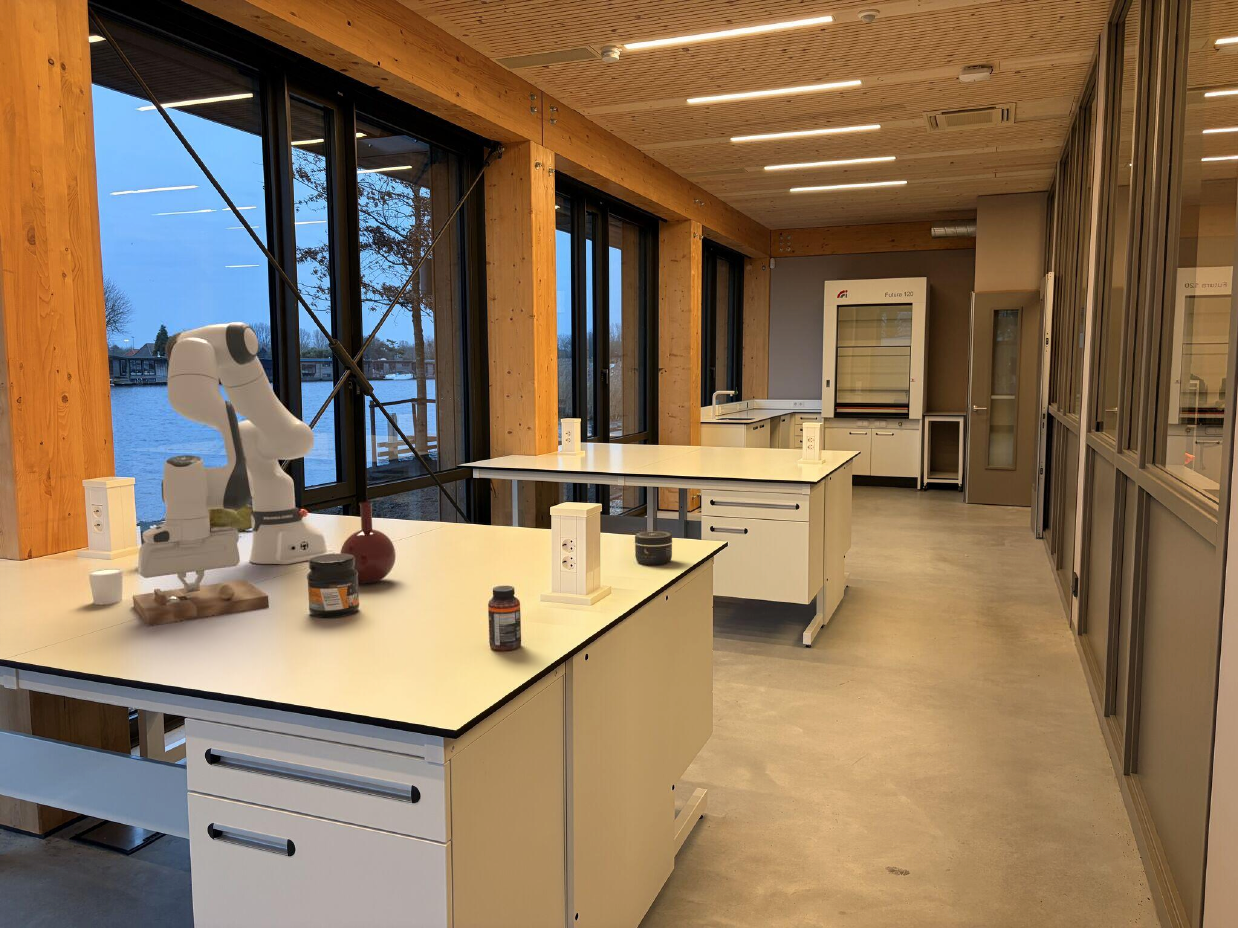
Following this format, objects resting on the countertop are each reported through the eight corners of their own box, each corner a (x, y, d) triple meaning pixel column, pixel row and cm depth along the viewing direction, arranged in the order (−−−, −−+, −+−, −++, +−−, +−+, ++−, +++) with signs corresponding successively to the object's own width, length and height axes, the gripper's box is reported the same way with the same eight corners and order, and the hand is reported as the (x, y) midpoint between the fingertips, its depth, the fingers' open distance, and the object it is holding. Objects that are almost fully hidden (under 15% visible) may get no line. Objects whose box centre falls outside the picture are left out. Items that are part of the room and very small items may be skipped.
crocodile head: (154, 521, 287) (173, 484, 296) (188, 549, 299) (205, 512, 308) (225, 515, 279) (242, 477, 288) (256, 544, 292) (272, 506, 301)
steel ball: (172, 592, 198) (159, 601, 196) (175, 594, 195) (162, 604, 194) (182, 602, 199) (169, 612, 198) (185, 605, 197) (172, 615, 195)
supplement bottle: (490, 642, 170) (488, 584, 169) (521, 641, 171) (520, 583, 169) (488, 652, 164) (486, 592, 163) (521, 651, 165) (519, 591, 163)
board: (245, 589, 215) (244, 571, 215) (268, 606, 199) (267, 586, 199) (133, 606, 201) (132, 586, 201) (148, 626, 185) (146, 604, 184)
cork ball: (233, 596, 198) (232, 582, 198) (236, 599, 196) (235, 585, 195) (217, 598, 196) (216, 584, 196) (221, 601, 194) (220, 587, 193)
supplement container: (331, 621, 186) (328, 564, 185) (298, 614, 192) (295, 559, 191) (370, 609, 195) (367, 555, 194) (337, 603, 201) (334, 551, 200)
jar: (629, 565, 236) (629, 536, 235) (642, 557, 245) (642, 530, 244) (665, 567, 232) (665, 538, 231) (677, 559, 241) (677, 532, 241)
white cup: (132, 598, 208) (129, 569, 207) (106, 606, 202) (104, 575, 201) (109, 596, 210) (107, 567, 210) (83, 604, 204) (81, 573, 203)
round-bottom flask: (407, 579, 224) (404, 499, 222) (372, 591, 212) (368, 507, 210) (366, 574, 229) (362, 497, 227) (329, 586, 217) (325, 504, 215)
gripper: (234, 522, 206) (238, 581, 207) (134, 533, 194) (138, 595, 195) (241, 526, 201) (245, 586, 202) (139, 537, 189) (143, 601, 190)
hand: (192, 591), depth 199 cm, fingers closed
